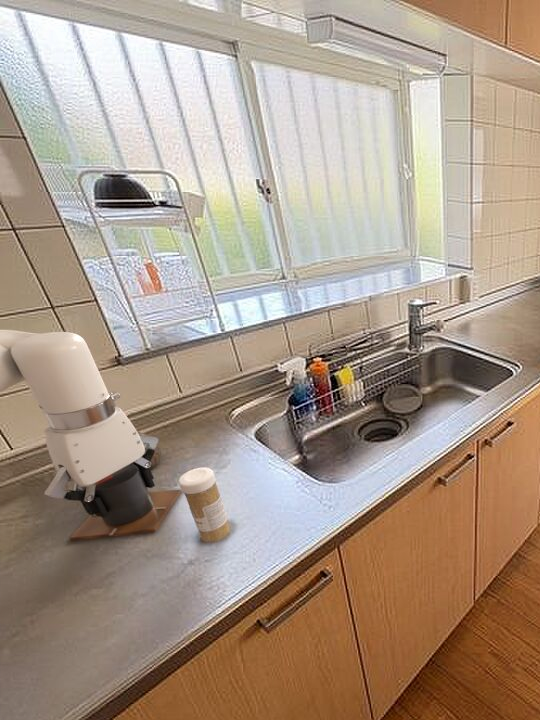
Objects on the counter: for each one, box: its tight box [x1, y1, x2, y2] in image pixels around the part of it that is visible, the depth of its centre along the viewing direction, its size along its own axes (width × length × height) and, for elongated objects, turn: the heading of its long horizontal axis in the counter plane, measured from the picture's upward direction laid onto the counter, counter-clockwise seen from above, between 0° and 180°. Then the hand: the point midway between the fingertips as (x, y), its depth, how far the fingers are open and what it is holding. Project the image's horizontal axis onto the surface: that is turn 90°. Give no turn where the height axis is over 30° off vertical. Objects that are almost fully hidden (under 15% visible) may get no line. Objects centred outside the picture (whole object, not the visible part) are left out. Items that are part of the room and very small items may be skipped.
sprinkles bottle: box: [178, 467, 232, 543], centre depth 70 cm, size 5×5×14 cm
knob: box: [94, 464, 153, 526], centre depth 72 cm, size 7×7×8 cm
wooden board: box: [69, 489, 183, 542], centre depth 75 cm, size 12×11×2 cm
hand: (124, 498), depth 73 cm, fingers closed on knob, 6 cm apart
